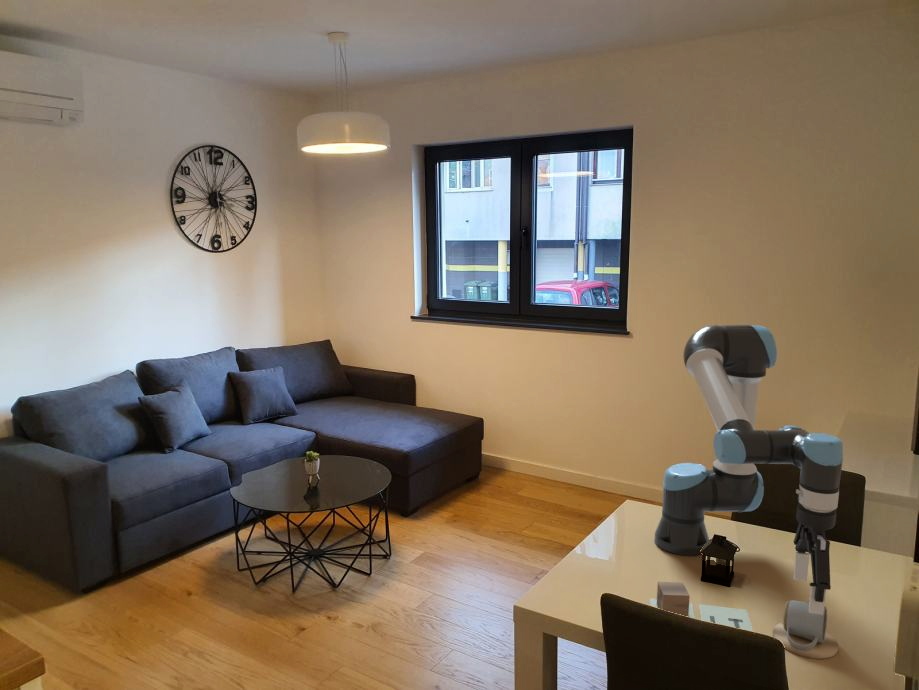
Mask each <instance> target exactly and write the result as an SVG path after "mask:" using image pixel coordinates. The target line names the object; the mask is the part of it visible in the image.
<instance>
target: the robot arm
mask: <svg viewBox="0 0 919 690" xmlns="http://www.w3.org/2000/svg"><path fill="white" fill-rule="evenodd" d="M777 353H778V352H777V343H776V340H775V337H774V336H773V333H772V331H771V330H770V329H769V328H767V327H765V326H763V325H755V324H754V325H753V324H736V325H735V324H732V325H731V324H729V325H728V324H727V325H725V324H724V325H719V324H718V325H717V324H715V325H714V324H712V325H707V326H703V327H702V328H700V329H698V330H696V331H695V332H694V333H693V334H691V336H690V337H689V339H688V340H687V341H686V343H685V346H684V350H683V362H684V366H685V368H686V371H687V373H688V374H689V375H690V376H692V377H694V379H695V380H694V381H696V384H697V387H698V389H699V391H700V392H701V395H702V397H703V398H702V399H703V400H704V403H705V404H706V407H707V409H708V412H709V414H710V416H711V419H712V422H713V423H714V426H715V428H716V430H717V431H716V433H715V434H714V436H713V444H712V445H713V451H714V456H715V458H716V459H715V460H714V461H713V462H712V469H711V470H710V469H709V470H708V469H707V467H706V466H705V465H703V464H700V463H693V462H682V463H677V464H672V465H671V466H669V467H668V468H666V470H665V472H664V476H663V482H662V487H663V489H662V506H661V507H662V509H661V511H662V512H661V518H660V519H659V523H658V525H657V527H656V530H655V533H654V543H655V545H656V546H657V547H659V548H660V549H662V550H663V551H665V552H668V553H671V554H675V555H681V556H690V557H691V556H699V555H701V554H700V550H701V549H702V547H703V546H704V544H705V543H706V542H708V541H709V542H710V538H709V534H708V532H707V526H706V524H705V514H706V512H719V513H720V512H724V513H725V512H727V513H728V512H730V513H731V512H732V513H733V512H734V513H736V512H737V513H743V512H752V511H755V510H756V509H758V508H759V506H760V505H761V503H762V502H763V501H762V500H763V497H764V491H765V486H764V480H763V477H762V474H761V472H759V471H758V469H757V466H756V465H755V464H757V465H758V464H766V465H767V464H768V465H769V464H770V465H772V464H775V465H782V464H783V465H793V466H796V468H797V469H799V470H800V472H799V473H800V474H799V485H798V486H799V488H798V489H795V493H796V494H797V495H798V497H797V501H798V503H797V505H796V514H795V519H796V520H797V522H798V525H797V529H796V532H795V535H794V539H793V544H794V545H795V547H794V548H795V556H794V567H793V576H792V578H793V580H795V581H802V582H804V581H805V582H808V573H809V562H811V573H812V582H810V583H809V587H810V593H809V601H808V603H809V610H808V611H809V613H813V614H821V615H823V613H824V606H825V605H826V602H825V601H826V592H827V590H829V591H830V590H831V588H832V586H831V569H830V568H831V566H830V564H831V562H830V561H831V560H830V545H831V541H830V540H829V539H828V538H827V534H826V532H825V531H828V530H831V529H833V528H834V527H835V525H836V518H837V509H838V504H839V495H840V484H841V483H840V482H841V476H842V468H843V461H844V454H843V453H844V444H843V440H842V439H840V438H839V437H837V436H835V435H831V434H828V433H822V432H812V433H810V432H808V431H807V430H805V429H803V428H802V427H798V426H797V425H792V424H789V425H784V426H782V427H781V428H778V429H777V430H776V429H775V430H765V429H764V430H761V429H759V430H758V429H756V427H755V426H756V418H757V408H758V398H759V396H758V395H759V387H760V381H761V380H763V379H765V377H766V376H767V369H771V368H773V367H774V366H775V365H776V362H777V358H778V354H777Z"/></svg>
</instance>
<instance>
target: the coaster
mask: <svg viewBox="0 0 919 690" xmlns="http://www.w3.org/2000/svg"><path fill="white" fill-rule="evenodd" d="M789 636H790V638H791V639H792V640H793V641H794V642H795V643H797V644H800V645H807V644H810V643H811V642H812V640H809V639H806V638H803V637H800V636H797V635H793V634H791V633H789ZM774 637H775V638H777V639H779V640H781V641H782V642H783V644H784V646H785V650H787V652H790V653H792V654H794V655H797V656H799V657H803V658H808V659H815V660H826V659H830V658H832V657H834V656H836V655H837V654H838V652H839V644H838V641H837V640H836V638H834V637H833V636H832V635H831V634H830V633H829V632H827V631H826V633H825V639H824V642H823V643H818V642H817V643H816V645H815V646H814V647H813V648H812V649H810V650H800V649H797V648H795V647H793V646H792V645H791V644H790V643H789V641H788V639H787V631H785V629H784V626H783V622H779V623H777V624H775V626H774V627H773V629H772V638H774Z"/></svg>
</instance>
